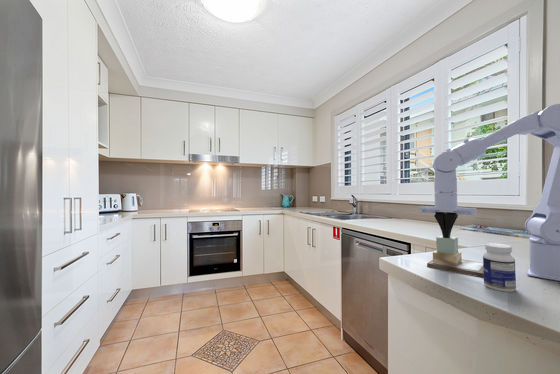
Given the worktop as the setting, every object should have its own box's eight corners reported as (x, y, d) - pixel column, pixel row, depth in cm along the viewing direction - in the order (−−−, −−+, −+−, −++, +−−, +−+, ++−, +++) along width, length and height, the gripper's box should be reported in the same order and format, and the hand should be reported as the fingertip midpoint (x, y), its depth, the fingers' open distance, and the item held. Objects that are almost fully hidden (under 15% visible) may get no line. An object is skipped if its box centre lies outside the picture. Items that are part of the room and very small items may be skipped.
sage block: (458, 252, 75) (457, 237, 75) (454, 254, 72) (453, 239, 72) (441, 249, 79) (440, 235, 79) (436, 252, 76) (436, 237, 76)
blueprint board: (494, 267, 73) (493, 253, 73) (487, 278, 64) (486, 262, 64) (439, 258, 83) (438, 246, 83) (427, 266, 75) (426, 252, 75)
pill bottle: (483, 281, 62) (482, 241, 62) (515, 286, 59) (513, 244, 59) (483, 288, 58) (482, 245, 58) (517, 294, 54) (516, 248, 54)
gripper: (478, 192, 73) (479, 239, 73) (423, 192, 84) (424, 233, 83) (473, 192, 68) (474, 242, 68) (416, 193, 79) (417, 235, 79)
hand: (446, 237), depth 75 cm, fingers closed, pressing on sage block
